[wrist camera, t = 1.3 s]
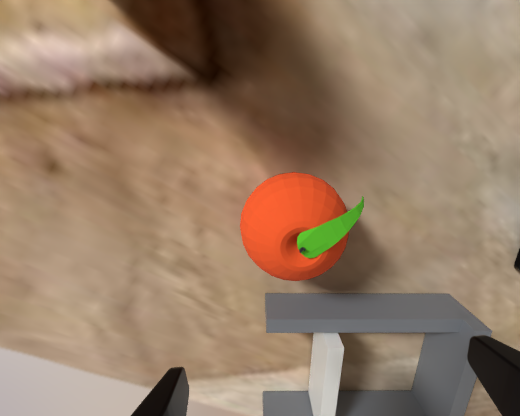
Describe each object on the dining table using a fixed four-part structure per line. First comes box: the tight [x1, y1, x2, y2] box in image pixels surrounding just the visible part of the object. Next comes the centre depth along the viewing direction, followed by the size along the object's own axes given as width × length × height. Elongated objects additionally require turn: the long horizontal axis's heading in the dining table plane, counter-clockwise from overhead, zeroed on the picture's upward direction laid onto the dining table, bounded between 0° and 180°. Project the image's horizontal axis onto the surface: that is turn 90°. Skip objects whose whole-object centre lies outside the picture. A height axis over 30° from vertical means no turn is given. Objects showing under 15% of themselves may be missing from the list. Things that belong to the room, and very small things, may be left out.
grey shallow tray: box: [263, 293, 492, 416], centre depth 22 cm, size 16×12×4 cm
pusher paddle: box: [308, 333, 344, 416], centre depth 22 cm, size 1×9×4 cm, turn 179°
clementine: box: [240, 172, 364, 281], centre depth 17 cm, size 8×7×7 cm
